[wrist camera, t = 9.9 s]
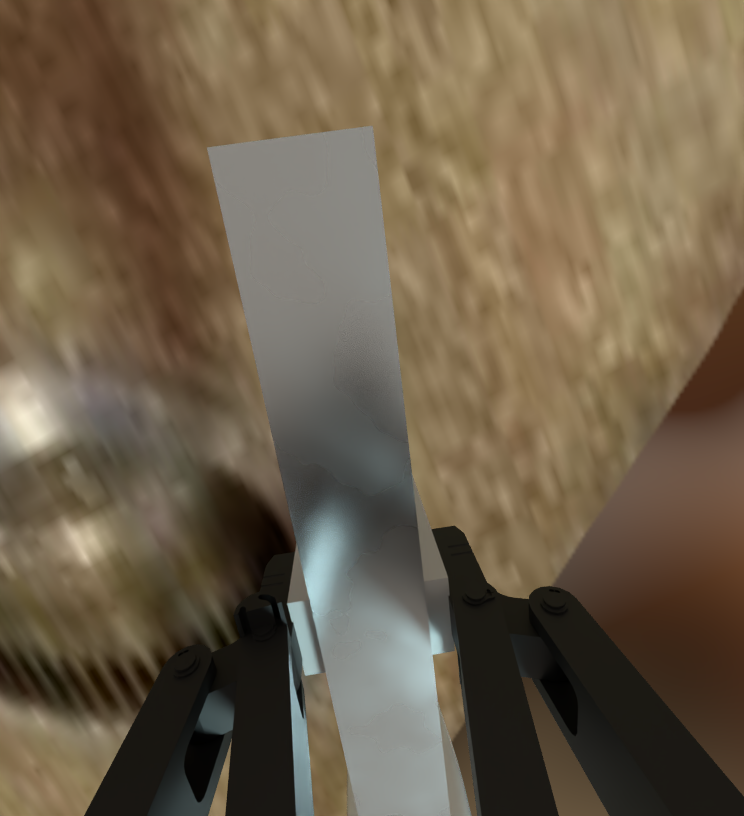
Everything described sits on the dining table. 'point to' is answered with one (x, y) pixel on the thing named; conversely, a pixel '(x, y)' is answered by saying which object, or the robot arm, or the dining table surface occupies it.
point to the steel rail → (341, 442)
